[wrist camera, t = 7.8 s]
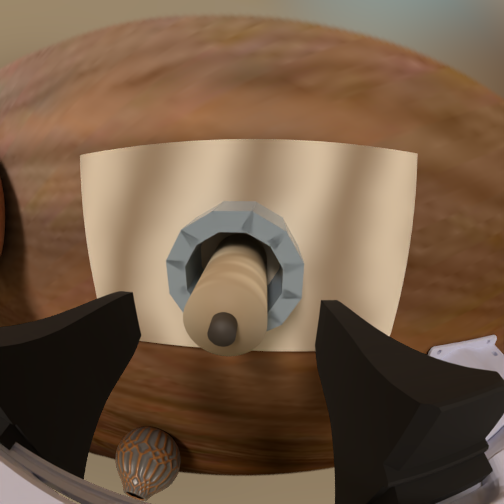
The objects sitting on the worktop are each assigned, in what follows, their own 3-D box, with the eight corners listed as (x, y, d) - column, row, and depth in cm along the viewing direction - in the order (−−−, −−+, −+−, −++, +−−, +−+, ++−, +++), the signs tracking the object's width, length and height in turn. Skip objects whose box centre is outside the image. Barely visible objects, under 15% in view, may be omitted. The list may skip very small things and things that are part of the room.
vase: (166, 456, 27) (149, 510, 18) (120, 427, 25) (94, 482, 17) (197, 442, 25) (182, 507, 16) (144, 410, 24) (116, 476, 15)
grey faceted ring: (299, 202, 16) (307, 212, 13) (293, 308, 18) (297, 339, 15) (182, 201, 16) (161, 211, 13) (189, 304, 18) (174, 333, 15)
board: (411, 153, 15) (417, 153, 14) (383, 341, 19) (386, 347, 19) (86, 154, 16) (80, 155, 15) (111, 330, 20) (106, 335, 20)
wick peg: (266, 233, 16) (267, 295, 9) (267, 283, 17) (267, 369, 10) (212, 234, 17) (170, 294, 9) (216, 283, 18) (184, 366, 10)
